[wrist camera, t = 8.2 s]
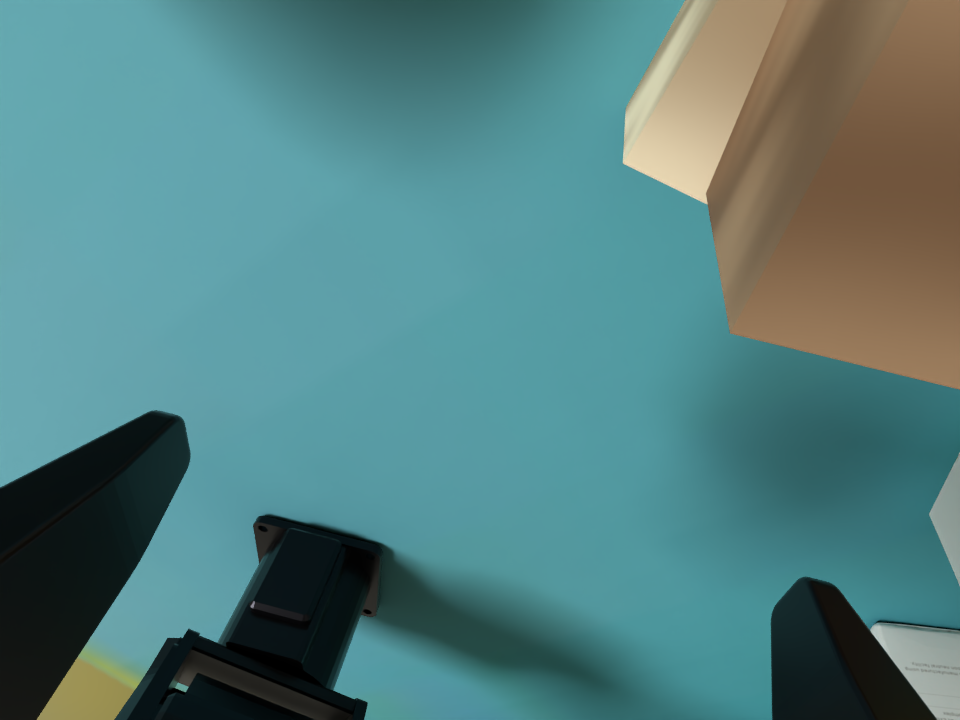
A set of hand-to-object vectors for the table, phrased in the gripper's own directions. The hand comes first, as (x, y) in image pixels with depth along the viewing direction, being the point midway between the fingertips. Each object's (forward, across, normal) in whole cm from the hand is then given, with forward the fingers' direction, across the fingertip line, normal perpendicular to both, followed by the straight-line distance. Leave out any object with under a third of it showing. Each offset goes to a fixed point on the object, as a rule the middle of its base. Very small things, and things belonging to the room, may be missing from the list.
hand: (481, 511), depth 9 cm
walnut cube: (+8, -6, -5) cm, 11 cm away
